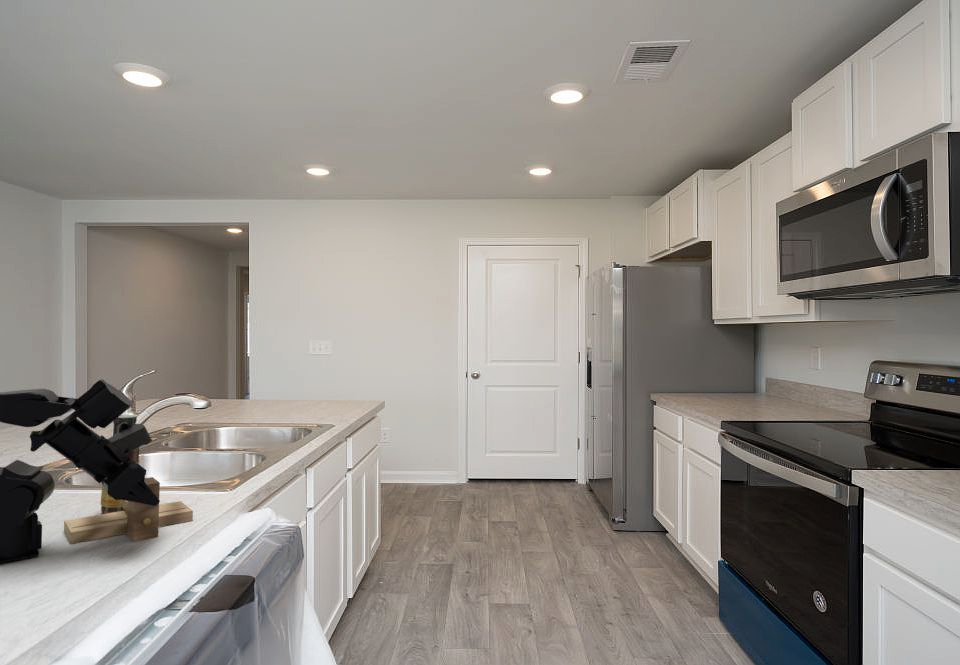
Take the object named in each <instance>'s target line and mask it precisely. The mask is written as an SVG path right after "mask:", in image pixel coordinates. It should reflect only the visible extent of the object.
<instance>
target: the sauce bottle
mask: <svg viewBox="0 0 960 665" xmlns="http://www.w3.org/2000/svg"><path fill="white" fill-rule="evenodd" d="M137 419H138V417H137V415H133V414H121V415H120V416H119V417H118V418H117V419H115V420H114V421H113V422H112V423H113V434H112V436H114V434H115V433H116V434H117V426H118V425H119V424H121V423H124V422H127V423H128V424H130V425H131V426H134V424H137V422H138V420H137ZM126 454H127V455H128V456H129V458H130V461H133V460H134V461H135V462H136V463H138V464H139V465H140V459H139V458H140V447H138V448H136V449H134V450H133V451H131V452H128V453H126ZM100 506H101V507H100V511H101V514H107V513H113V512H119V511H125V510H124V509H123V500H115V499H114V498H113V497H111V496H110V495H108V494H107V493H106V492H105V491H104V485H103V484H102V483H101V495H100Z"/></svg>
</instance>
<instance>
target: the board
mask: <svg viewBox="0 0 960 665" xmlns="http://www.w3.org/2000/svg"><path fill="white" fill-rule="evenodd" d="M193 511H194V510H192V509H191V508H190V507H189V506H188V505H187V504H185V503H184V502H182V500H181V501H180V500H179V501H173V502H169V503H162V504H159V526H158V528H160V527H161V528H163V527H165V526H167V527H168V526H171V525H176V524H181V523H182V524H183V523H187V522H193V517H194V512H193ZM127 514H128V513H127V512H126V511H119V512H113V513H107V514H103V513H101V514H96V515H89V516H85V517H79V518H72V519H65V520H64V521H63V533H64V534H65V535H66V536H65V537H66V538H67V540H68V542H69V543H70V545H72V544H76V543H82V542H87V541H93V540H97V539H103V538H108V537H109V538H110V537H113V536H119V535H124V534H127Z"/></svg>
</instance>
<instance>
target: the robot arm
mask: <svg viewBox="0 0 960 665" xmlns="http://www.w3.org/2000/svg"><path fill="white" fill-rule="evenodd" d="M131 407H133V403H132V401H131V400H130V398H129V397H128V396H127V395H126V394H125V393H124V392H123V391H122V390H120V389H117V388H116V386H113V385H112V384H110V383H108V382H107V381H105V379H100V380H97V381H96V382H95V383H94V384H92V386H91V387H90V388H89V389H88V390H87V391H85V392H84V393H83V394H81V395H80V396H79V397H78V398H74V397H67V396H66V397H65V396H59V395H57V394H56V392H54V391H53V390H51V389H47V388H32V389H19V390H11V391H2V392H0V423H2V424H8V425H13V426H17V427H24V428H34V427H38V426H40V425H42V424H45V422H49V421H51V420H52V419H53V418H57V417H62V416H63V415H66V414H67V413H69V412H72V411H73V412H72V413H71V414H69V415H68V416H66V417H65V418H63V419H54V420H53V421H52V422H51V423H49V424H48V425H47V426H44V428H43V429H41V430H32V431H31V432H30V435H29V438H30V451H31V453H35V452H36V451H37V450H38V449H40V448H41V447H42V446H44V445H45V444H46V445H47V446H49V447H50V448H52V449H53V450H54V451H56V452H57V453H58V454H60V455H62V456H63V457H64V458H65V459H67V461H70V462H71V463H72V464H73V465H74V466H75V467H76V468H78V469H79V470H82V471H83V472H85V473H86V474H87V475H88V476H90V477H91V478H92V479H93V480H94V481H95V482H97V483H99V484H101V485H102V484H103V485H104V491H105V492H106V493H107V494H108V495H110V496H111V497H113V498H114V499H115V500H126V501H132V502H138V503H143V504H148V505H153V506H156V505H157V504H158V503H159V504H160V502H161V501H160V498H159V499H158V498H157V497H156V495H155V494H154V493H153V492H152V490H151V489H150V488H149V487H148V485H147V484H146V483H145V478H146V475H147V469H146V468H144V467H143V466H142V465H140V463H139V464H138V463H136V462H135V461H134V460H133V461H130V458H129V456H128V455H127V454H126V453H128V452H131V451H133V450H134V449H136V448H138V447H139V448H140V447H142V446H146V445H148V444H150V443H152V442H153V439H152V437H151V435H150V433H149V432H148V430H147V428H146V426H145V425H144V424H142V423H135V424H134V426H131V425H130V424H128V423H127V422H124V423H121V424H119V425H118V426H117V434H116V433H115V434H114V433H113V434H114V436H113V435H112V436H110V437H109V438H106V437H105V436H104V435H102V434H101V435H100V434H99V433H96V432H95V431H94V430H92V429H97V428H98V427H99V428H102V429H106V428H107V427H108V426H110V424H112V423H113V421H114V420H115V419H117V418H118V417H119V416H120V415H124V413H125V412H127V410H129V409H130V408H131ZM43 469H44V466H43V465H39V466H36V465H31V464H29V463H27V462H24V461H22V460H19V459H16V460H14V461H12V462H11V463H9V464H7V465H5V466H2V467H1V466H0V564H4V563H11V562H16V561H20V560H24V559H30V558H35V557H36V558H37V557H39V556H40V552H39V550H41V549H42V546H43V545H42V543H43V539H42V538H43V537H42V536H43V524H42V522H41V521H40V520H39V515H38V514H37V512H36V511H38V510H39V509H40V507H41V505H42V504H44V503H45V501H47V499H49V498H50V497H51V496H52V494H53V493H54V491H55V488H56V487H55V480H54V478H53V475H51V474H50V473H49V472H47V471H45V470H43Z"/></svg>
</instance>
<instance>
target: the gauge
mask: <svg viewBox="0 0 960 665" xmlns="http://www.w3.org/2000/svg"><path fill="white" fill-rule="evenodd" d="M145 483H146V484H147V485H148V487H149V488H150V489H151V490H152V492H153V493H154V494H155V495H156V497H157V498H158V499H159V500H160V491H161V490H160V489H161V488H160V487H161V486H160V485H161V482H160V481H158V480H157V479H156V478H155V477H154V476H153V477H152V476H150V477H145ZM159 505H160V502H159V503H158V504H157V505H156V506H153V505H148V504H143V503H138V502H132V501H126V500H123V509H124V510H125V511H126V512H127V513H128V514H127V533H126V535H127V536H128V538H130V539H131V541H132V542H133V543H135V542H140V541H144V540H150V539H155V538H159V527H158V526H159Z"/></svg>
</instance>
